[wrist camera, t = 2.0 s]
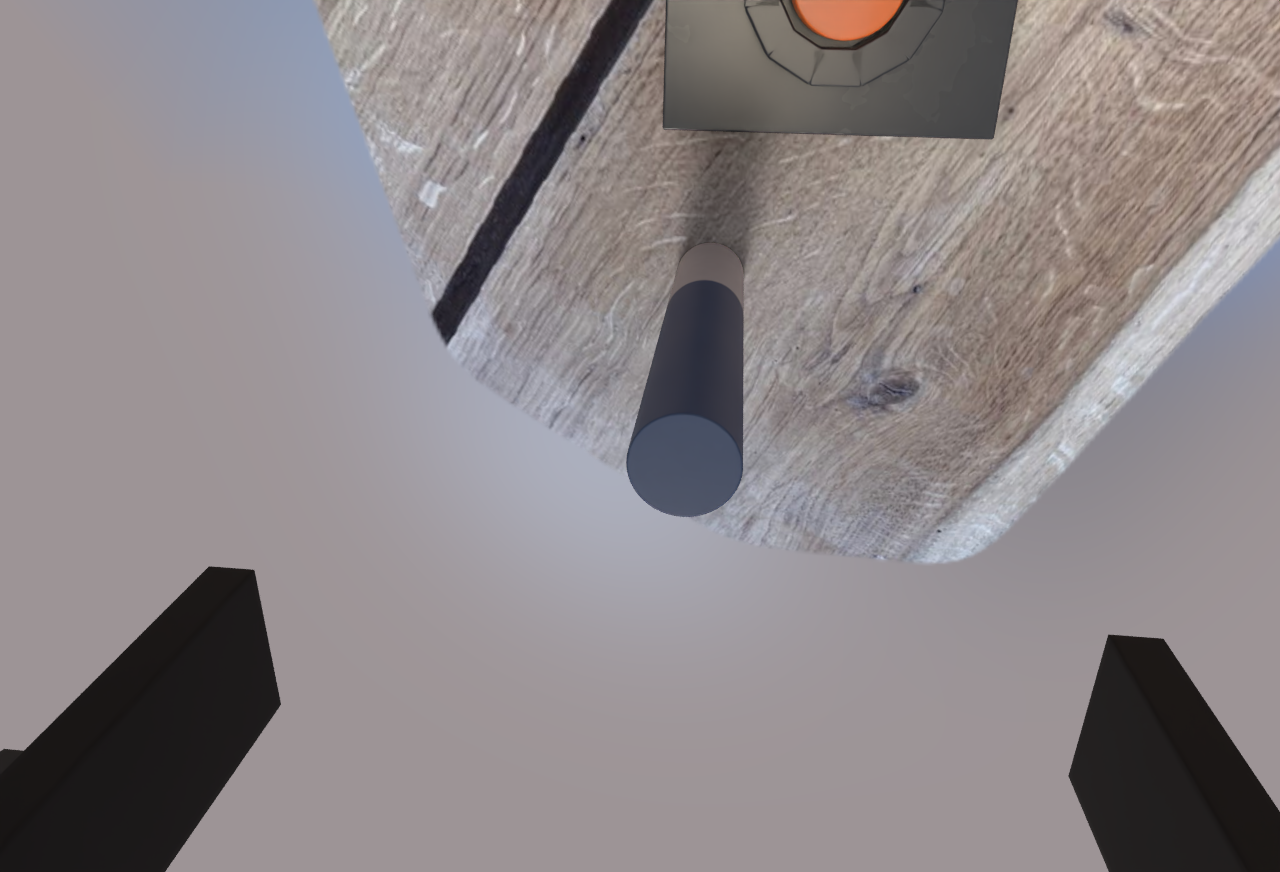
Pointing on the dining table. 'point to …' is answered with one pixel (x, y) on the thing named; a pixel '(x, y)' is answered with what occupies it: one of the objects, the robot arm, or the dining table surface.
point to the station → (836, 70)
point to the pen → (694, 391)
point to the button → (845, 16)
